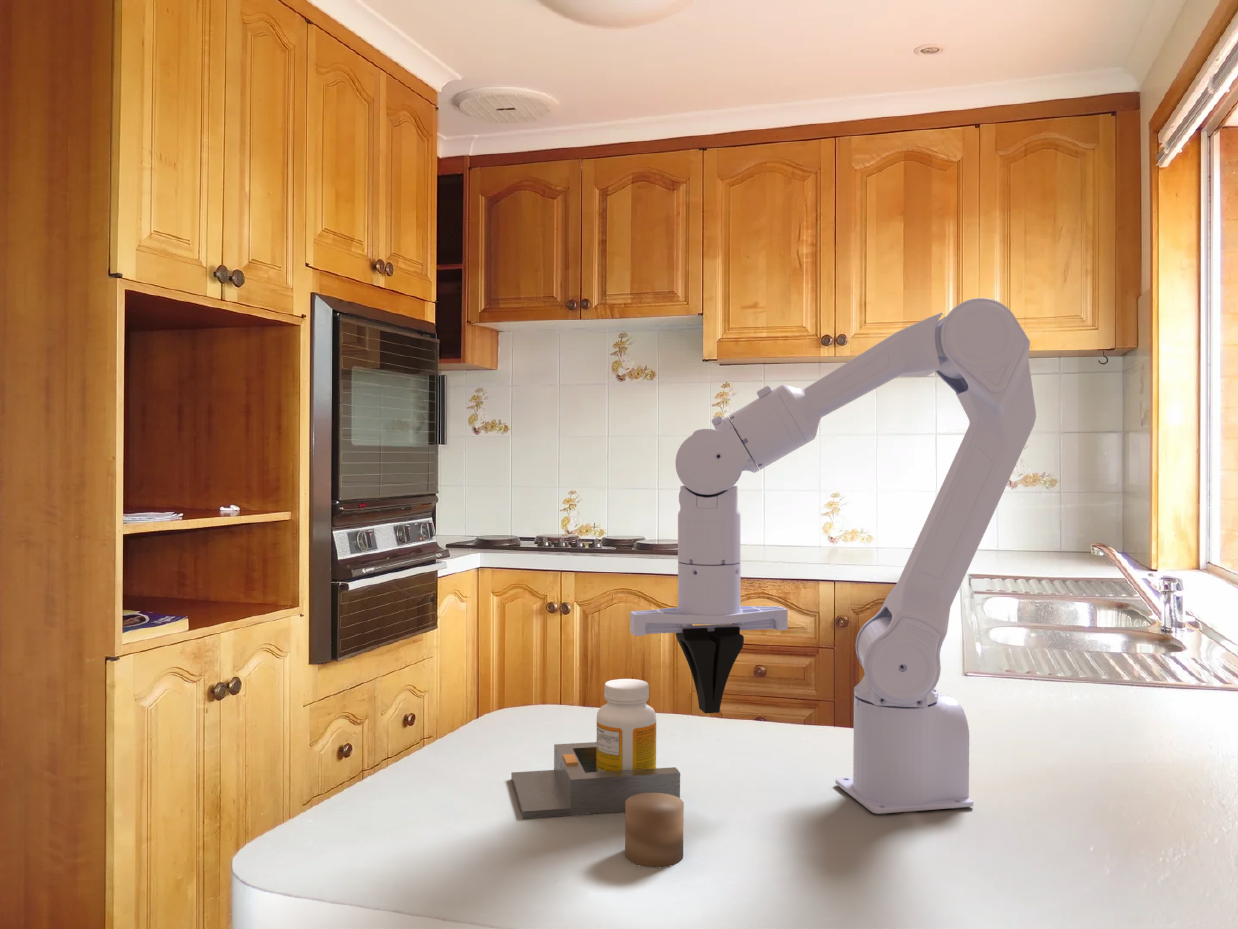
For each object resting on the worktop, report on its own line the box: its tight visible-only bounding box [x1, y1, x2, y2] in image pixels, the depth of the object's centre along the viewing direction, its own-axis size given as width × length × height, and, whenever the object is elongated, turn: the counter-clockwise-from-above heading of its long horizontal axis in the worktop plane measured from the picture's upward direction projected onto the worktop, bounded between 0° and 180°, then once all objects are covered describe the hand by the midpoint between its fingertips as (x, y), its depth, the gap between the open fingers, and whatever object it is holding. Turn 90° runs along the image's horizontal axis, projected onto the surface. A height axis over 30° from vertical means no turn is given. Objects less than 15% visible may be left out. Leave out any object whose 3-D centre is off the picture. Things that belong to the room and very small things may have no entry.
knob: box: [624, 793, 685, 869], centre depth 72 cm, size 4×4×4 cm
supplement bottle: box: [596, 678, 657, 772], centre depth 86 cm, size 5×5×10 cm
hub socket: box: [511, 741, 681, 819], centre depth 86 cm, size 14×10×3 cm
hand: (709, 710), depth 88 cm, fingers closed
